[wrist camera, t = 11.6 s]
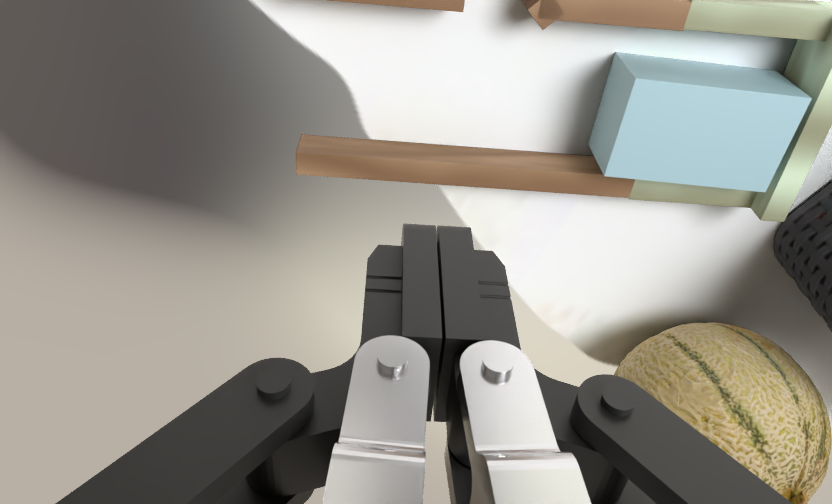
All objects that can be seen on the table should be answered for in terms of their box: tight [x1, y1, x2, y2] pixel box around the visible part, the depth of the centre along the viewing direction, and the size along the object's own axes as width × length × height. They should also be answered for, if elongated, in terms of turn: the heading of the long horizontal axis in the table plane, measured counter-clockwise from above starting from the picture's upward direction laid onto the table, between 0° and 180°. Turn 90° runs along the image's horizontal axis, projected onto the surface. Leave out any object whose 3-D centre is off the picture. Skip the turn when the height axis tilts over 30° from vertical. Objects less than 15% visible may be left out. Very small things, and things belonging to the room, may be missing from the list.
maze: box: [296, 0, 832, 222], centre depth 35 cm, size 21×30×4 cm
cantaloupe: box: [614, 322, 831, 504], centre depth 47 cm, size 15×15×15 cm
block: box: [588, 52, 812, 192], centre depth 39 cm, size 6×10×4 cm, turn 83°
